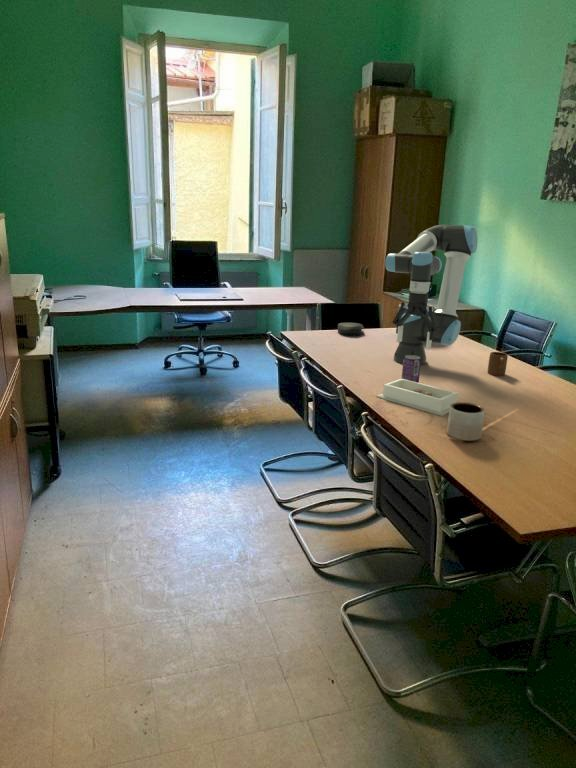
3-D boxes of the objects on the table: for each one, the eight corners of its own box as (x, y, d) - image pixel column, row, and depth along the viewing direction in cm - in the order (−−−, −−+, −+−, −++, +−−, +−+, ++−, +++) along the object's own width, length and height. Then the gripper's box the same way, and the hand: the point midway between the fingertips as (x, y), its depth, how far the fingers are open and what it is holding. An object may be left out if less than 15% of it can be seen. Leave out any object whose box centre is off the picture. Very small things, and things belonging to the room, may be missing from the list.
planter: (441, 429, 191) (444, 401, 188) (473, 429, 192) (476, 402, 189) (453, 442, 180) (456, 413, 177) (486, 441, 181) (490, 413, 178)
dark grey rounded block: (338, 339, 317) (339, 326, 314) (336, 332, 334) (337, 320, 332) (364, 340, 317) (365, 327, 314) (361, 333, 334) (362, 320, 332)
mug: (509, 379, 250) (513, 358, 247) (492, 378, 251) (495, 357, 248) (502, 372, 262) (505, 352, 259) (485, 371, 262) (488, 351, 259)
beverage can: (419, 383, 240) (422, 355, 236) (417, 388, 233) (420, 359, 230) (402, 381, 242) (404, 354, 238) (399, 386, 236) (402, 357, 232)
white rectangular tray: (376, 397, 221) (377, 384, 219) (399, 388, 232) (400, 376, 231) (441, 416, 203) (443, 402, 201) (463, 406, 214) (464, 393, 212)
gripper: (387, 289, 232) (382, 340, 238) (442, 296, 216) (436, 351, 222) (397, 287, 237) (392, 338, 243) (452, 295, 221) (446, 348, 227)
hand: (413, 344), depth 232 cm, fingers open, 13 cm apart
